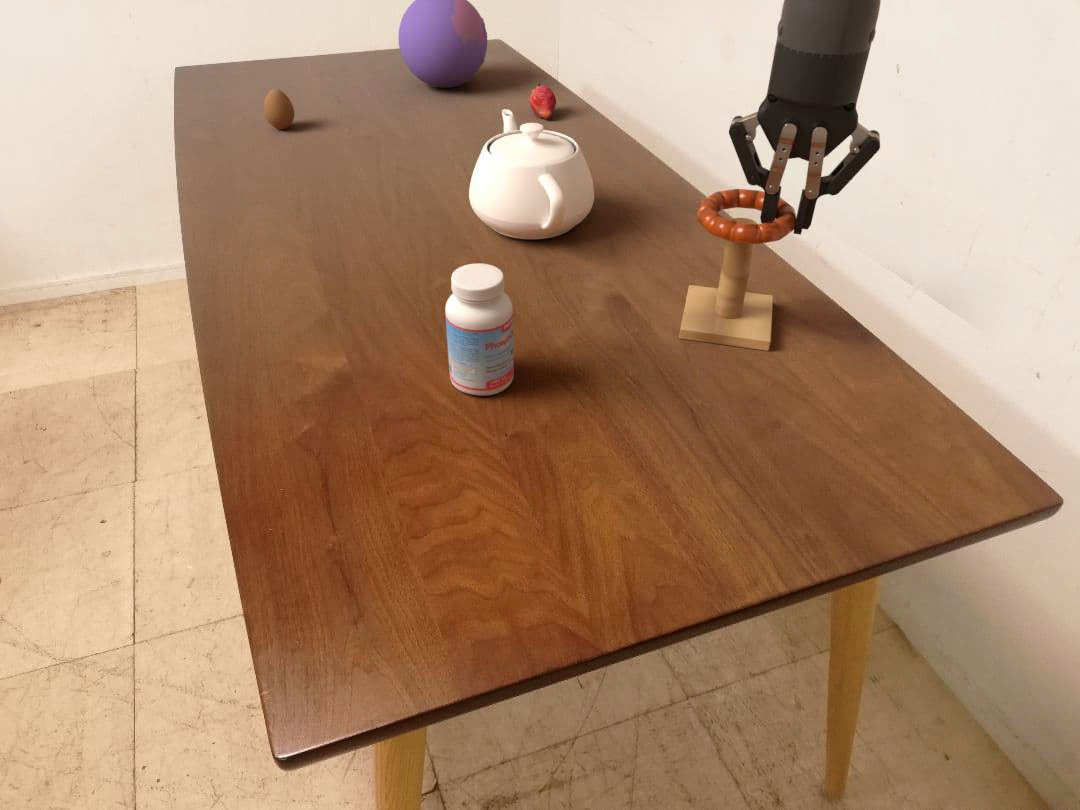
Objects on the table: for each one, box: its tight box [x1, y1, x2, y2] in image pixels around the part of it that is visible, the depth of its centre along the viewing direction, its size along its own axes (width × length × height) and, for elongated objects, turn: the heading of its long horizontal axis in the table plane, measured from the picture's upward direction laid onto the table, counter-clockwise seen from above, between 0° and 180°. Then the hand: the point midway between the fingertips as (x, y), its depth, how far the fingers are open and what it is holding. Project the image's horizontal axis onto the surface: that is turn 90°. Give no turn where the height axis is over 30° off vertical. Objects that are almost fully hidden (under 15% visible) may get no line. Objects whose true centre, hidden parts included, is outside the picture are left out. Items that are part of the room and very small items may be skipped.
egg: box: [263, 88, 295, 130], centre depth 126 cm, size 4×4×6 cm
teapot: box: [468, 108, 595, 240], centre depth 101 cm, size 25×16×12 cm, turn 16°
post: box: [678, 217, 774, 352], centre depth 83 cm, size 9×9×11 cm
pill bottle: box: [444, 262, 515, 397], centre depth 75 cm, size 6×6×11 cm
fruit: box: [529, 80, 557, 120], centre depth 131 cm, size 4×6×5 cm
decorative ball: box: [398, 0, 488, 89], centre depth 139 cm, size 15×15×15 cm
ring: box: [696, 188, 797, 245], centre depth 79 cm, size 9×9×2 cm
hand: (783, 228), depth 78 cm, fingers closed on ring, 2 cm apart
